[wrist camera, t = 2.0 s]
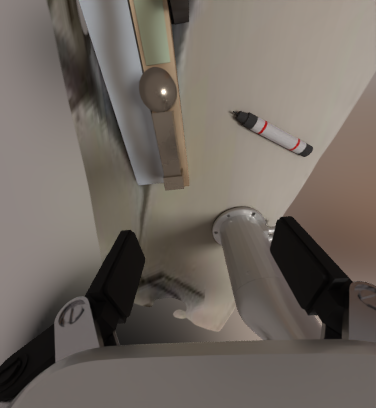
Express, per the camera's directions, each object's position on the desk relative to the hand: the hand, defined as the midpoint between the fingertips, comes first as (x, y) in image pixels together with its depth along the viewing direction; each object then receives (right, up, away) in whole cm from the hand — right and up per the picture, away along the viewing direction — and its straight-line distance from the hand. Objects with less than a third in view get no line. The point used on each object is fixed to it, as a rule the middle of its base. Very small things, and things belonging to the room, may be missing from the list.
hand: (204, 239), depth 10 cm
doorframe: (-6, +19, +13) cm, 23 cm away
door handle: (-4, +12, +12) cm, 18 cm away
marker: (+13, +15, +16) cm, 25 cm away
